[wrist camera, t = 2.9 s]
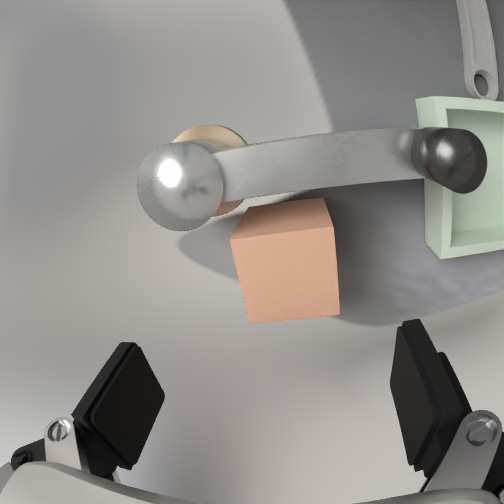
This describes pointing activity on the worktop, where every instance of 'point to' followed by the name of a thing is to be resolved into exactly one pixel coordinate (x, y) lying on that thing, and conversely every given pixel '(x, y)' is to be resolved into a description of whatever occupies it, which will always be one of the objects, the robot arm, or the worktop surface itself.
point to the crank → (300, 168)
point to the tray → (480, 200)
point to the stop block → (287, 261)
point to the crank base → (225, 137)
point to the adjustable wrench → (478, 47)
